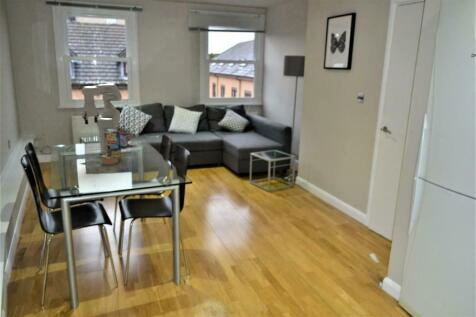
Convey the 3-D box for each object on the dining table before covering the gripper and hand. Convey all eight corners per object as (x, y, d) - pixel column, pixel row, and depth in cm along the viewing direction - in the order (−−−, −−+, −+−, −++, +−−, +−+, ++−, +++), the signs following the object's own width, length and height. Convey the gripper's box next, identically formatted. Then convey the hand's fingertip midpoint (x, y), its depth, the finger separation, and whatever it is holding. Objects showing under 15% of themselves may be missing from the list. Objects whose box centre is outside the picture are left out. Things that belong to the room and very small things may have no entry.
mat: (92, 160, 308) (92, 160, 308) (103, 162, 302) (103, 162, 302) (79, 164, 297) (79, 163, 297) (90, 166, 291) (90, 165, 291)
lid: (109, 154, 309) (109, 147, 307) (122, 156, 302) (121, 148, 301) (96, 157, 297) (95, 150, 295) (109, 159, 290) (108, 152, 289)
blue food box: (106, 158, 317) (104, 132, 312) (119, 156, 323) (117, 131, 318) (108, 159, 312) (106, 133, 307) (121, 158, 317) (119, 132, 312)
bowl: (110, 160, 309) (109, 154, 307) (120, 162, 303) (120, 156, 302) (98, 163, 298) (98, 157, 297) (109, 165, 293) (109, 159, 292)
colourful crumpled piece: (104, 144, 355) (112, 128, 352) (108, 139, 376) (116, 124, 373) (123, 154, 360) (132, 138, 358) (126, 148, 381) (134, 133, 378)
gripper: (94, 101, 312) (96, 122, 316) (77, 103, 298) (79, 124, 301) (101, 102, 309) (102, 122, 313) (83, 103, 294) (86, 125, 298)
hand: (91, 123), depth 307 cm, fingers open, 9 cm apart
